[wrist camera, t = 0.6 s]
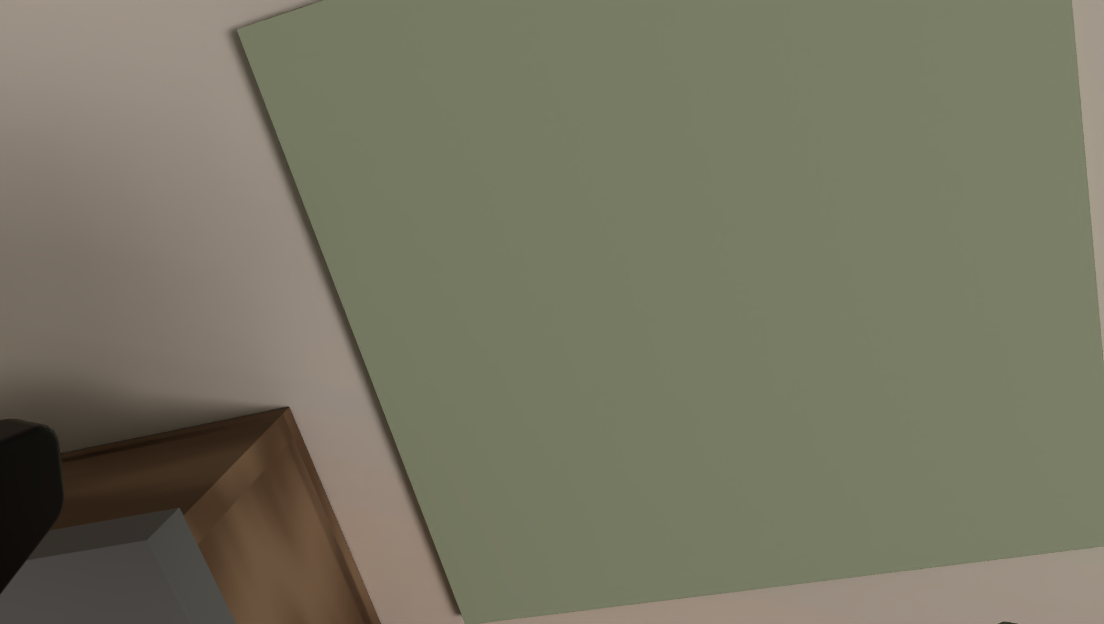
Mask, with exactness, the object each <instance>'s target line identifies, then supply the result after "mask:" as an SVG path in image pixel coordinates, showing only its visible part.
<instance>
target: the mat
mask: <svg viewBox="0 0 1104 624" xmlns="http://www.w3.org/2000/svg"><path fill="white" fill-rule="evenodd" d="M237 32H238V35H239V37H240V40H241V43H242V45H243V48H244V50H245V53H246V56H247V58H248V61H249V63H250V66H251V69H252V71H253V74H254V76H255V79H256V82H257V84H258V87H259V89H260V92H261V95H262V97H263V100H264V102H265V105H266V108H267V110H268V113H269V115H270V118H271V121H272V123H273V126H274V128H275V131H276V134H277V136H278V139H279V141H280V144H281V147H282V149H283V152H284V154H285V157H286V160H287V162H288V165H289V167H290V170H291V173H292V175H293V178H294V180H295V183H296V186H297V188H298V191H299V193H300V196H301V199H302V201H303V204H304V206H305V209H306V212H307V214H308V217H309V219H310V222H311V225H312V227H313V230H314V232H315V235H316V238H317V240H318V243H319V245H320V248H321V251H322V253H323V256H324V258H325V261H326V264H327V266H328V269H329V271H330V274H331V277H332V279H333V282H334V284H335V287H336V290H337V292H338V295H339V297H340V300H341V303H342V305H343V308H344V310H345V313H346V316H347V318H348V321H349V323H350V326H351V329H352V331H353V334H354V336H355V339H356V342H357V344H358V347H359V349H360V352H361V354H362V357H363V360H364V362H365V365H366V367H367V370H368V373H369V375H370V378H371V380H372V383H373V386H374V388H375V391H376V393H377V396H378V399H379V401H380V404H381V406H382V409H383V412H384V414H385V417H386V419H387V422H388V425H389V427H390V430H391V432H392V435H393V438H394V440H395V443H396V445H397V448H398V451H399V453H400V456H401V458H402V461H403V464H404V466H405V469H406V471H407V474H408V477H409V479H410V482H411V484H412V487H413V490H414V492H415V495H416V497H417V500H418V503H419V505H420V508H421V510H422V513H423V516H424V518H425V521H426V523H427V526H428V529H429V531H430V534H431V536H432V539H433V542H434V544H435V547H436V549H437V552H438V555H439V557H440V560H441V562H442V565H443V568H444V570H445V573H446V575H447V578H448V581H449V583H450V586H451V588H452V591H453V594H454V596H455V599H456V601H457V604H458V607H459V609H460V612H461V614H462V617H463V620H464V622H465V624H477V623H486V622H494V621H502V620H510V619H518V618H526V617H534V616H542V615H550V614H559V613H567V612H575V611H583V610H591V609H599V608H607V607H615V606H623V605H632V604H640V603H648V602H656V601H664V600H672V599H680V598H688V597H697V596H705V595H713V594H721V593H729V592H737V591H745V590H753V589H761V588H770V587H778V586H786V585H794V584H802V583H810V582H818V581H826V580H834V579H843V578H851V577H859V576H867V575H875V574H883V573H891V572H899V571H908V570H916V569H924V568H932V567H940V566H948V565H956V564H964V563H972V562H981V561H989V560H997V559H1005V558H1013V557H1021V556H1029V555H1037V554H1045V553H1054V552H1062V551H1070V550H1078V549H1086V548H1094V547H1102V546H1104V363H1103V351H1102V340H1101V329H1100V317H1099V306H1098V294H1097V283H1096V271H1095V260H1094V249H1093V237H1092V226H1091V214H1090V203H1089V191H1088V180H1087V169H1086V157H1085V146H1084V134H1083V123H1082V111H1081V100H1080V88H1079V77H1078V66H1077V54H1076V43H1075V31H1074V20H1073V8H1072V0H323V1H320V2H317V3H314V4H311V5H308V6H305V7H302V8H299V9H296V10H293V11H290V12H287V13H284V14H281V15H278V16H275V17H272V18H269V19H266V20H263V21H260V22H257V23H255V24H252V25H249V26H246V27H243V28H240V29H237Z"/></svg>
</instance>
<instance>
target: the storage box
mask: <svg viewBox="0 0 1104 624" xmlns="http://www.w3.org/2000/svg"><path fill="white" fill-rule="evenodd" d="M60 458H61V467H62V476H63V485H64V504H63V508H62V511H61V513H60V515H59V517H58V519H57V521H56V522H55V524H54V525H53V527H52V528H51V529H50V530H55V529H61V528H66V527H72V526H78V525H83V524H89V523H95V522H100V521H106V520H112V519H117V518H123V517H129V516H134V515H140V514H146V513H151V512H157V511H163V510H168V509H174V508H180V510H181V512H182V514H183V516H184V518H185V520H186V522H187V524H188V526H189V528H190V530H191V532H192V534H193V536H194V538H195V540H196V543H197V545H198V547H199V549H200V551H201V553H202V555H203V557H204V559H205V561H206V563H207V565H208V567H209V569H210V571H211V573H212V575H213V577H214V579H215V581H216V584H217V586H218V588H219V590H220V592H221V594H222V596H223V598H224V600H225V602H226V604H227V606H228V608H229V610H230V612H231V614H232V616H233V618H234V620H235V622H236V624H381V623H380V621H379V618H378V616H377V614H376V611H375V609H374V606H373V604H372V602H371V599H370V597H369V595H368V592H367V590H366V588H365V585H364V583H363V580H362V578H361V576H360V573H359V571H358V569H357V566H356V564H355V561H354V559H353V557H352V554H351V552H350V550H349V547H348V545H347V543H346V540H345V538H344V535H343V533H342V531H341V528H340V526H339V524H338V521H337V519H336V517H335V514H334V512H333V509H332V507H331V505H330V502H329V500H328V498H327V495H326V493H325V490H324V488H323V486H322V483H321V481H320V479H319V476H318V474H317V472H316V469H315V467H314V464H313V462H312V460H311V457H310V455H309V453H308V450H307V448H306V446H305V443H304V441H303V438H302V436H301V434H300V431H299V429H298V427H297V424H296V422H295V419H294V417H293V415H292V412H291V410H290V408H289V407H287V408H283V409H278V410H273V411H268V412H263V413H258V414H253V415H248V416H243V417H238V418H233V419H228V420H224V421H219V422H214V423H209V424H204V425H199V426H194V427H189V428H184V429H179V430H174V431H169V432H165V433H160V434H155V435H150V436H145V437H140V438H135V439H130V440H125V441H120V442H115V443H110V444H106V445H101V446H96V447H91V448H86V449H81V450H76V451H71V452H66V453H61V454H60Z"/></svg>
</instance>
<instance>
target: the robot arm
mask: <svg viewBox="0 0 1104 624" xmlns="http://www.w3.org/2000/svg"><path fill="white" fill-rule="evenodd" d="M63 504H64V485H63V476H62V467H61V458H60V449H59V441H58V437H57V435H56V433H55V432H54V430H53V429H51V428H50V427H49V426H47V425H43V424H38V423H33V422H28V421H23V420H18V419H5V420H0V594H1V593H2V592H3V590H4V589H5V588H6V587H7V585H8V584H9V583H10V581H11V580H12V579H13V577H14V576H15V575H16V574H17V572H18V571H19V570H20V568H21V567H22V566H23V564H24V563H25V562H26V560H27V559H28V558H29V557H30V555H31V554H32V553H33V551H34V550H35V549H36V547H37V546H38V545H39V544H40V542H41V541H42V540H43V538H44V537H45V536H46V534H47V533H48V532H49V531H50V529H51V528H52V527H53V525H54V524H55V522H56V521H57V519H58V517H59V515H60V513H61V511H62V508H63ZM999 624H1016V623H1011V622H1001V623H999Z"/></svg>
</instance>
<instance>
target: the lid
mask: <svg viewBox="0 0 1104 624" xmlns="http://www.w3.org/2000/svg"><path fill="white" fill-rule="evenodd" d="M0 624H236V622H235V620H234V618H233V616H232V614H231V612H230V610H229V608H228V606H227V604H226V602H225V600H224V598H223V596H222V594H221V592H220V590H219V588H218V586H217V584H216V581H215V579H214V577H213V575H212V573H211V571H210V569H209V567H208V565H207V563H206V561H205V559H204V557H203V555H202V553H201V551H200V549H199V547H198V545H197V543H196V540H195V538H194V536H193V534H192V532H191V530H190V528H189V526H188V524H187V522H186V520H185V518H184V516H183V514H182V512H181V510H180V508H174V509H168V510H163V511H157V512H151V513H146V514H140V515H134V516H129V517H123V518H117V519H112V520H106V521H100V522H95V523H89V524H83V525H78V526H72V527H66V528H61V529H55V530H50V531H49V532H48V533H47V534H46V536H45V537H44V538H43V540H42V541H41V542H40V544H39V545H38V546H37V547H36V549H35V550H34V551H33V553H32V554H31V555H30V557H29V558H28V559H27V560H26V562H25V563H24V564H23V566H22V567H21V568H20V570H19V571H18V572H17V574H16V575H15V576H14V577H13V579H12V580H11V581H10V583H9V584H8V585H7V587H6V588H5V589H4V590H3V592H2V593H1V594H0Z"/></svg>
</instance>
